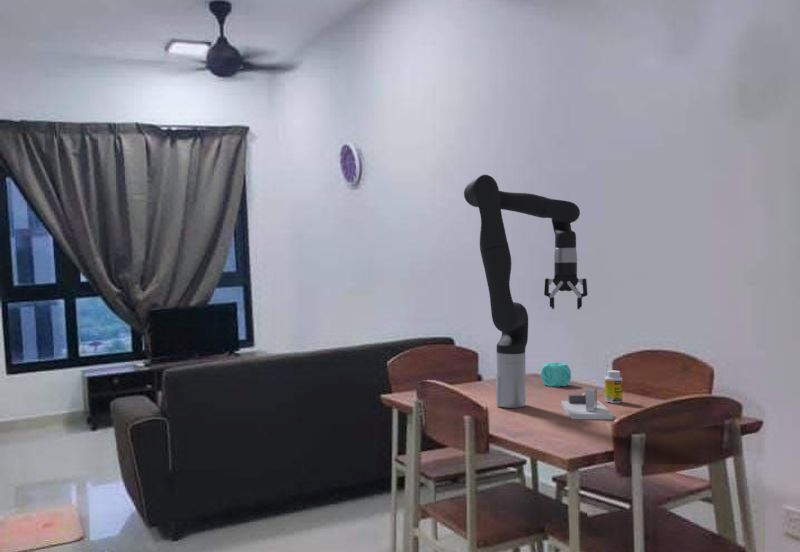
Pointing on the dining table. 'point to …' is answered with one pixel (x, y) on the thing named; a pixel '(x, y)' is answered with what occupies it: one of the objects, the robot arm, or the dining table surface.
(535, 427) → the dining table surface
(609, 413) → the base
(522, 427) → the dining table surface
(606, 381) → the supplement bottle
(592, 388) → the white orange box
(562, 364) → the decorative dice
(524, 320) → the robot arm
